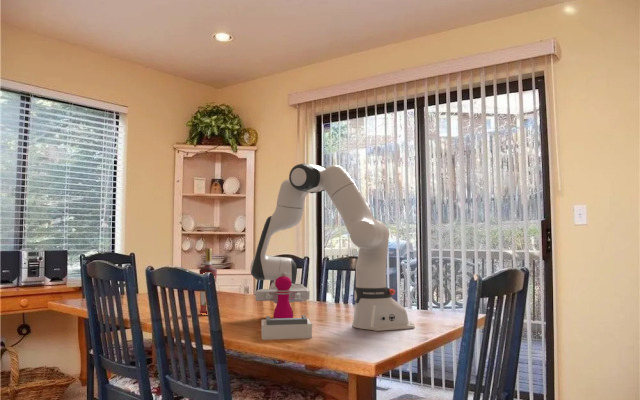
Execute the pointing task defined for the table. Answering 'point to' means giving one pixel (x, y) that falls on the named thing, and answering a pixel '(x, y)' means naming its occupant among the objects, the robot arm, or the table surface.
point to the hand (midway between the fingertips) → (283, 297)
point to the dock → (286, 328)
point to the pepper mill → (283, 297)
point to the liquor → (207, 268)
